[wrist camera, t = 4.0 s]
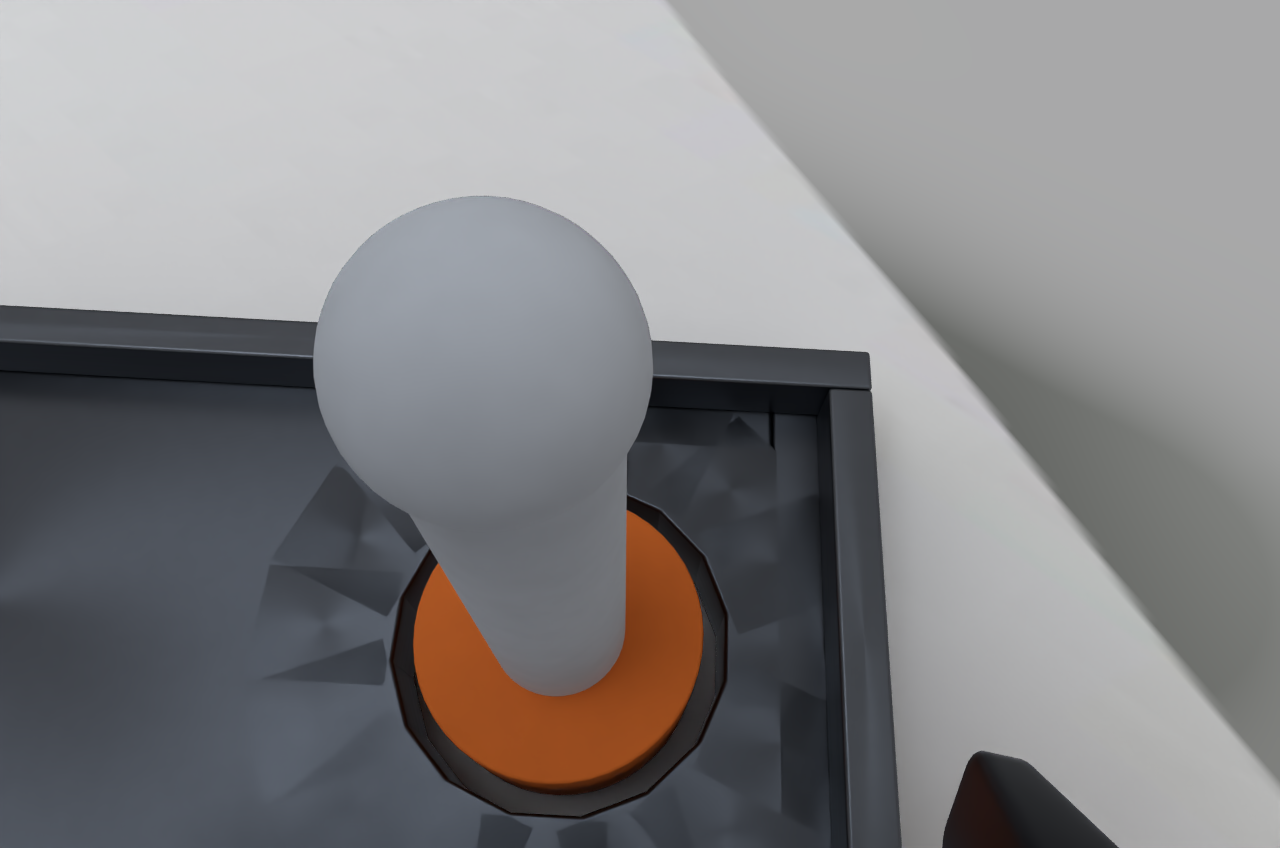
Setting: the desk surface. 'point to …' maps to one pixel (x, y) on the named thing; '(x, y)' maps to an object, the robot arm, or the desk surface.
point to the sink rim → (679, 380)
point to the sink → (350, 631)
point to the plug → (515, 484)
